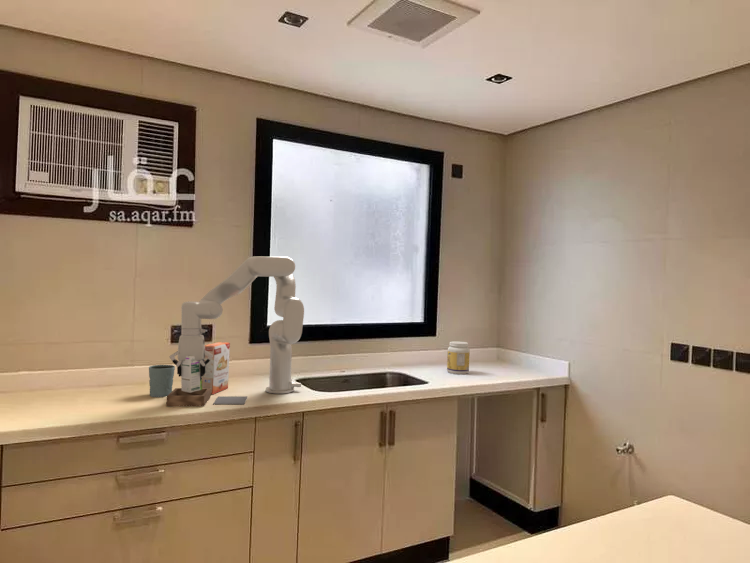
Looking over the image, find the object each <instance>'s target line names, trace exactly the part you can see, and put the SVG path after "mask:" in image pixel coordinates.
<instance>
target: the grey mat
mask: <svg viewBox="0 0 750 563" xmlns="http://www.w3.org/2000/svg"><path fill="white" fill-rule="evenodd" d="M247 399H248V396H241V395H240V396H239V395H238V396H236V395H235V396H226V395H225V396H223V395H222V396H220V395H219V396H217V397H216V399H215V400H214V402H213V404H212V405H214V404H215V405H216V406H217V405H220V406H221V405H227V406H228V405H229V406H231V405H237V406H238V405H245V403H246V401H247Z"/></svg>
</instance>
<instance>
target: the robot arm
mask: <svg viewBox="0 0 750 563" xmlns="http://www.w3.org/2000/svg"><path fill="white" fill-rule="evenodd" d="M295 270H296V263H295V261H294V260H293V259H292V258H291V257H289V256H262V255H261V256H255V255H254V256H250V257H248V258H246V259H245V260H244V261H243V262H242V263H241V264H240V265H239V266H238V267H237V268H236V269H235V270H234V271H233V272H232V273H231V274H230V275H229V276H227V277H226V278H225V279H224V280H223V281H221V282H220V283H219V284H217V285H215V286H214V287H213V288H212V289H210V291H207V293H206V294H205V295H203V297H202V298H201V299H200V300H199V301H192V300H191V301H183V303H181V334H180V335H179V340H178V344H177V345H178V347H177V350H176V351H175V352H174V353H172V354H170V356H169V359H170V360H171V361H172V363H173V364H174V366H175V367H176V369H177V370H176V371H177V372H176V373H177V375H178V377H179V378H181V363H182V361H185V359H186V356H194V357H195V360H196V361H200V363H201V364H202V366H201V376H203V375H204V374H205V373H206V364H207V363H208V362H209V361H210V360H211V359H212V357H213V355H212V354H211V353H209V352H207V351H206V350H205V345H206V341H205V337H204V335H203V334H205V333H206V329H203V328H202V319H203V320H215V319H216V320H217V319H218V318H220V317H221V316H222V315H223V311H224V309H223V306H222V304H223V303H224V302H226V301H227V300H229V299H230V298H233V297H235V296H238V295H240V294H242V293H243V292H244V291H245V290H246V289H247V288H248V287H249V286H250V285H251V284H252V283H253V282H254V281H255V280H256V278H258V277H265V278H266V277H268V278H269V277H272V278H274V281H275V286H276V289H275V290H276V291H275V297H274V298H275V300H274V312H275V314H276V315H277V316H278V317H281V318H282V319H278V320H275V321H274V322H272V324H270V326H269V329H268V338H269V346H270V347H269V352H270V353H269V385H268V386H267V387H266V388H265V392H266V393H270V394H276V395H277V394H279V395H280V394H289V393H290V394H291V393H293V392H294V391H295V388H301V387H302V383H301V382H297V381H296V382H294V381H293V379H292V360H293V359H292V355H293V349H292V348H293V347H292V345H293V344H296V343H297V342H298V341H299V340H300V339H301V337H302V334H303V326H304V325H303V324H304V317H305V307H304V303H303V302H302V300H301V299H300V298H298V297H296V287H297V286H296V279H295V277H294V272H295ZM205 355H207V356H208V359H207V360H206V361H205V360H204V359H203V358H205ZM176 356H177V358H176Z"/></svg>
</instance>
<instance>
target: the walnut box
mask: <svg viewBox="0 0 750 563" xmlns="http://www.w3.org/2000/svg"><path fill="white" fill-rule="evenodd" d="M211 395H212V394H211V388H202V390H199V391H195V392H192V393H189V392H184V391H182V388H181V387H176V388H174V389H172V392H171V393H170V394H169V395H168V396H167V397H166V406H169V407H205V406H206V404H207V403H208V402H207V401H209V400H211ZM204 405H205V406H204Z"/></svg>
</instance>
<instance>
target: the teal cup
mask: <svg viewBox="0 0 750 563" xmlns="http://www.w3.org/2000/svg"><path fill="white" fill-rule="evenodd" d="M175 369H176V365H172V364H156V365H155V364H154V365H150V366H149V367H148V377H149V380H148V381H149V396H150V397H151V398H167V397H166V396H168V395H169V394H170V393H171V392H172V391H173V384H174V376H175Z"/></svg>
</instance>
